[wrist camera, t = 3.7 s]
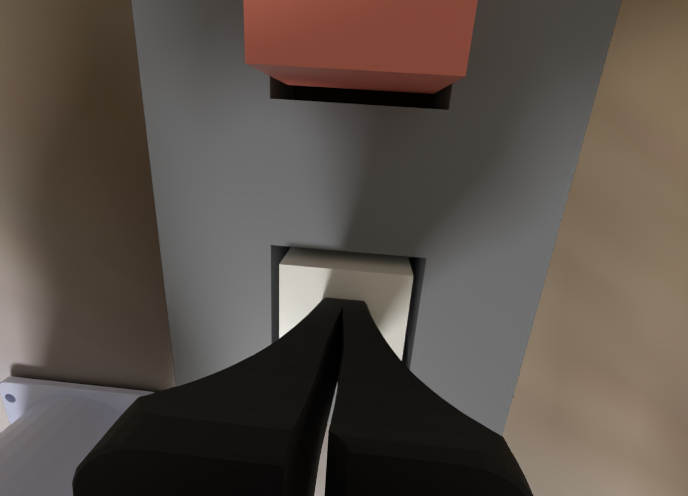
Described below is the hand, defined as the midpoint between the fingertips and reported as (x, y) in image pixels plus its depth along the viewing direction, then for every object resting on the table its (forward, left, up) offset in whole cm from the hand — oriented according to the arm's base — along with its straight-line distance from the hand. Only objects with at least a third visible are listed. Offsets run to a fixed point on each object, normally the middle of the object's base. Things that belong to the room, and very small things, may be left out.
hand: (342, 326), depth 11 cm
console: (+4, 0, -3) cm, 6 cm away
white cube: (0, 0, -3) cm, 3 cm away
